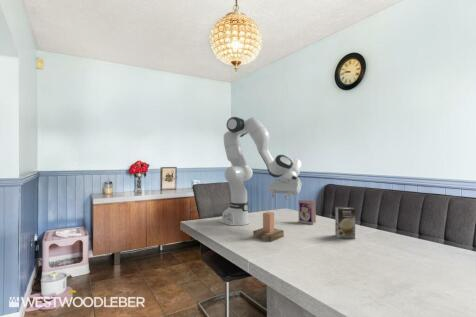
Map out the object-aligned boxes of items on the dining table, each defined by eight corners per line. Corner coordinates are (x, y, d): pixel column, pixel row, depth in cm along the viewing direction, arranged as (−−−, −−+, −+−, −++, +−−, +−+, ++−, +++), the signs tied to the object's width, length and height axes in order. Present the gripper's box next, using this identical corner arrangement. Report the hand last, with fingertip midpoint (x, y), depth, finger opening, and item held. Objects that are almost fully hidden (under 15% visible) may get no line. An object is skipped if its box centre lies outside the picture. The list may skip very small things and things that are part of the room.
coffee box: (338, 238, 144) (338, 208, 144) (335, 235, 150) (334, 206, 150) (355, 238, 143) (355, 209, 143) (351, 235, 149) (351, 206, 149)
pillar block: (263, 230, 146) (262, 212, 146) (267, 229, 150) (267, 211, 150) (269, 232, 144) (269, 214, 144) (274, 230, 147) (274, 212, 147)
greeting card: (297, 222, 181) (297, 200, 181) (303, 220, 186) (303, 199, 186) (312, 225, 173) (312, 202, 173) (318, 223, 178) (318, 200, 178)
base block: (253, 238, 146) (253, 231, 146) (266, 233, 155) (266, 226, 155) (271, 242, 138) (271, 235, 138) (283, 237, 147) (283, 230, 147)
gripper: (271, 176, 168) (262, 193, 161) (300, 177, 154) (292, 196, 147) (275, 182, 171) (267, 199, 164) (304, 184, 157) (296, 203, 150)
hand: (279, 198), depth 155 cm, fingers open, 8 cm apart
